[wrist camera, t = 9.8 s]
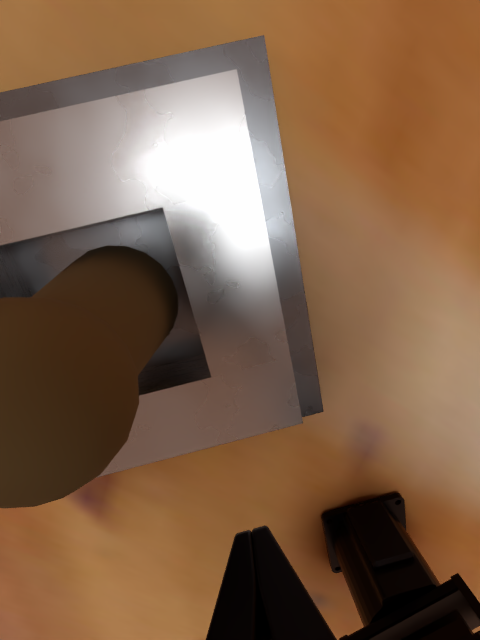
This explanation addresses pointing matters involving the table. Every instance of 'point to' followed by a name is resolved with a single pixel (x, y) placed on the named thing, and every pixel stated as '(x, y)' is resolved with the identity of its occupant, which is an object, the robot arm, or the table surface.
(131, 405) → the cork
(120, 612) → the table surface
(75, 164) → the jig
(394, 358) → the table surface
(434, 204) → the table surface
